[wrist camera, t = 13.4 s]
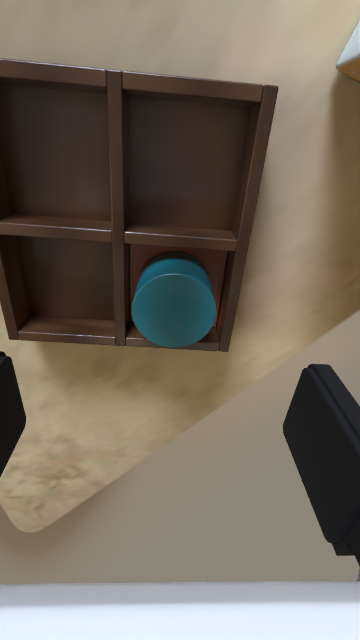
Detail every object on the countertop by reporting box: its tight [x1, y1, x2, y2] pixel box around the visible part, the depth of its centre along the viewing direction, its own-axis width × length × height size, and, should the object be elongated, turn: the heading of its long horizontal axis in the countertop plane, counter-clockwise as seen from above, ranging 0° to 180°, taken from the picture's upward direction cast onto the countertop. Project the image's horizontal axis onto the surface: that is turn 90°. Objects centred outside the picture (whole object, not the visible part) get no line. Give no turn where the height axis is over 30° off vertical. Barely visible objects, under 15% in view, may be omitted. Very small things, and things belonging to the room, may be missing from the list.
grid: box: [0, 58, 278, 352], centre depth 16 cm, size 13×13×2 cm
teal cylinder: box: [132, 251, 216, 348], centre depth 17 cm, size 4×4×4 cm
